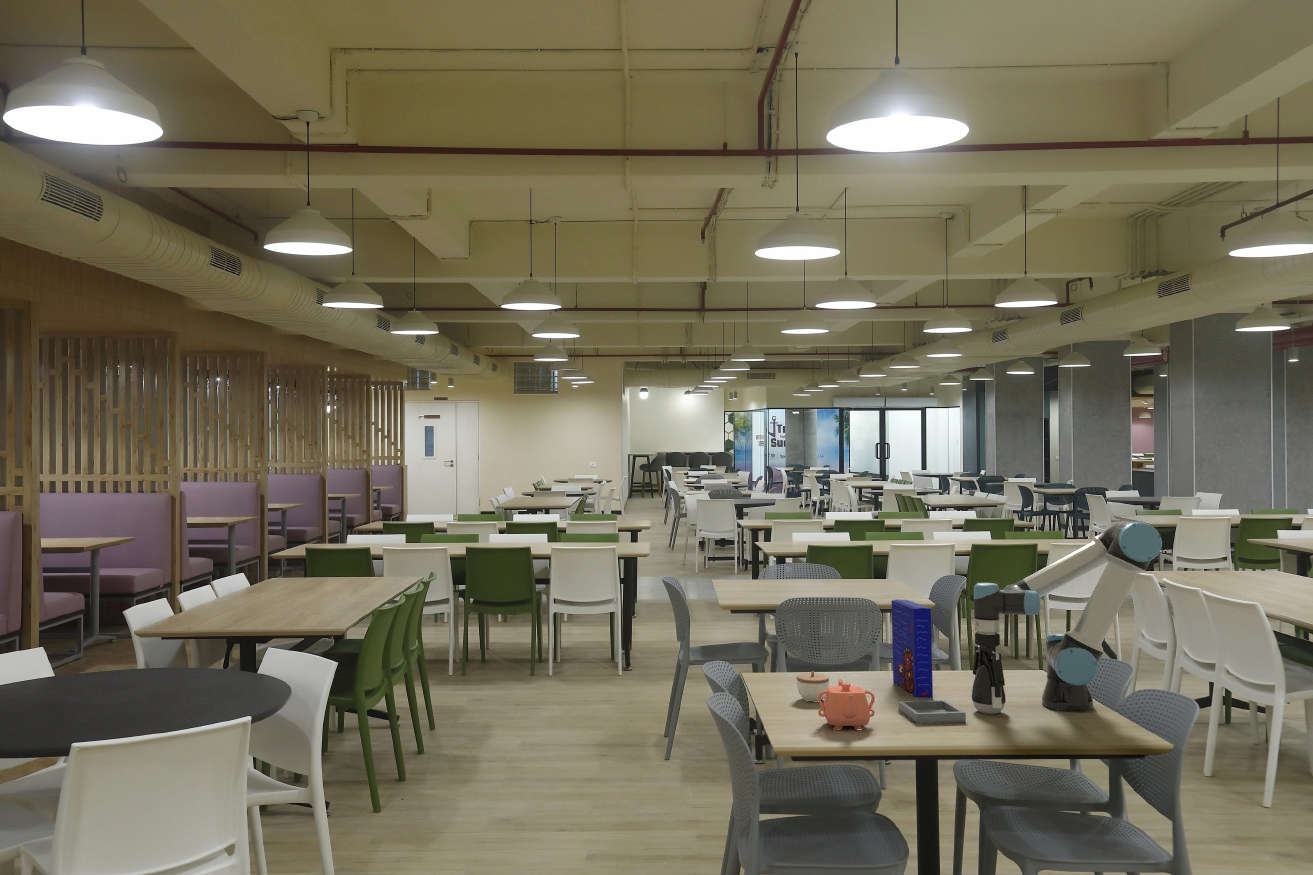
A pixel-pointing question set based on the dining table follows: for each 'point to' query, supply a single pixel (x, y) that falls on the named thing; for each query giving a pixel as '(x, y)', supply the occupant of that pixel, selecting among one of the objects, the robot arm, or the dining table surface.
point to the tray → (932, 712)
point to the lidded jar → (812, 685)
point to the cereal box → (912, 647)
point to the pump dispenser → (985, 692)
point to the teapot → (846, 705)
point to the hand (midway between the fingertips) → (988, 703)
